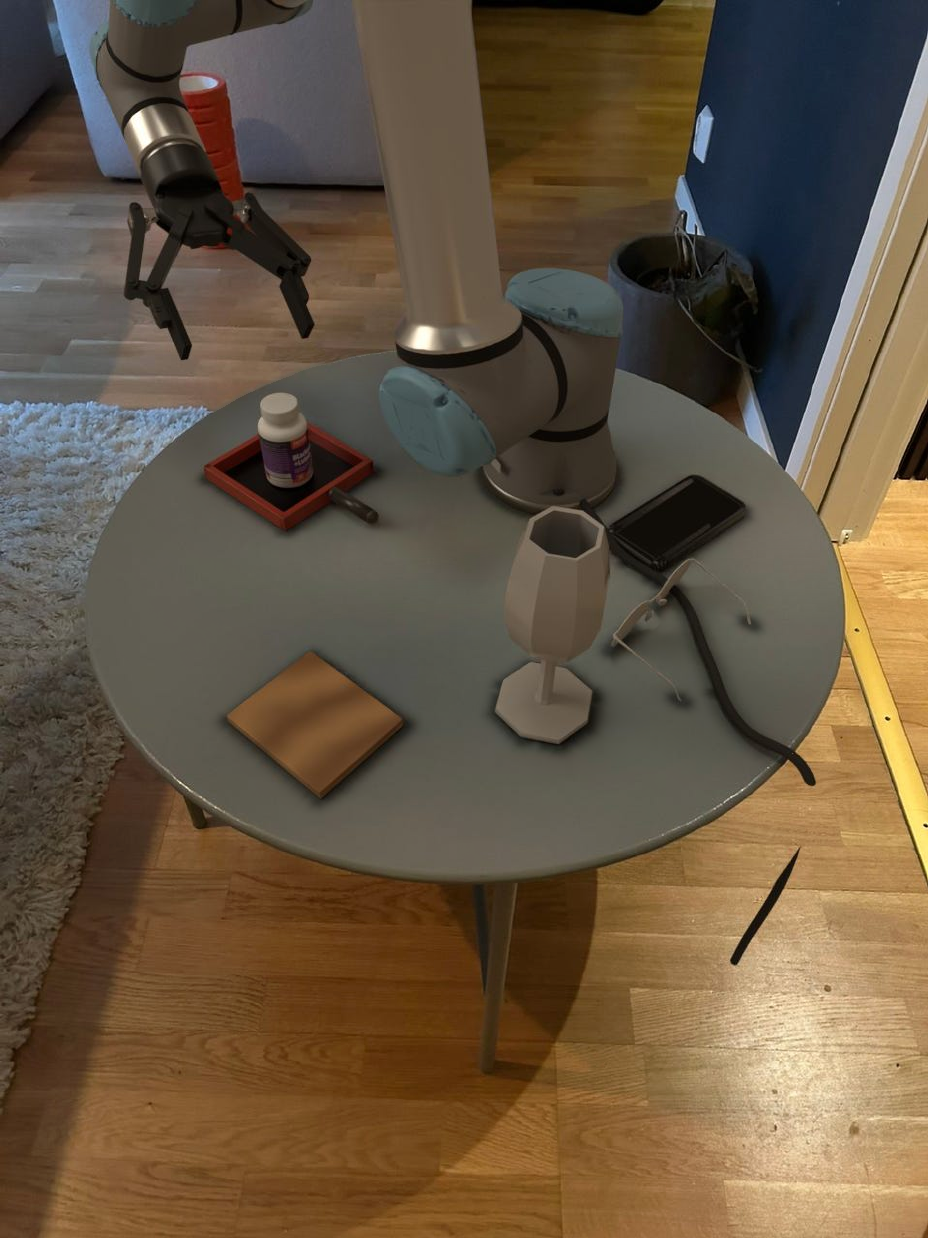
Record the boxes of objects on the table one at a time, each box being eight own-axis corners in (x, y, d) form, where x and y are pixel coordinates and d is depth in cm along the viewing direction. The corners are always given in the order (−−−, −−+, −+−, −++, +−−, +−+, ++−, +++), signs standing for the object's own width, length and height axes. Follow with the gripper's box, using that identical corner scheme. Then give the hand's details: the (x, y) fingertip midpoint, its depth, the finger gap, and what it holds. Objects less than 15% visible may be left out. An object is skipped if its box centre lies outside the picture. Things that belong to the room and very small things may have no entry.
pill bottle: (305, 492, 102) (294, 420, 95) (259, 486, 103) (245, 413, 95) (320, 463, 105) (310, 391, 98) (276, 457, 106) (263, 385, 99)
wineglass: (563, 761, 78) (591, 590, 63) (477, 717, 81) (483, 544, 66) (608, 693, 83) (643, 520, 68) (525, 654, 86) (541, 480, 71)
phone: (604, 528, 97) (694, 471, 103) (602, 536, 97) (692, 479, 104) (660, 568, 93) (751, 506, 99) (658, 575, 93) (748, 514, 100)
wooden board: (403, 725, 80) (403, 718, 80) (320, 799, 75) (319, 793, 75) (311, 657, 86) (310, 650, 85) (228, 721, 81) (226, 715, 80)
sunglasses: (680, 580, 93) (696, 549, 89) (748, 629, 90) (768, 599, 86) (601, 657, 86) (615, 627, 82) (672, 713, 83) (690, 684, 79)
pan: (420, 499, 101) (419, 483, 100) (331, 562, 94) (329, 546, 93) (295, 426, 111) (292, 410, 109) (205, 478, 104) (201, 463, 102)
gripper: (273, 180, 106) (344, 341, 104) (51, 198, 93) (126, 381, 92) (289, 133, 99) (365, 304, 97) (52, 146, 87) (134, 342, 85)
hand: (249, 342), depth 94 cm, fingers open, 13 cm apart
